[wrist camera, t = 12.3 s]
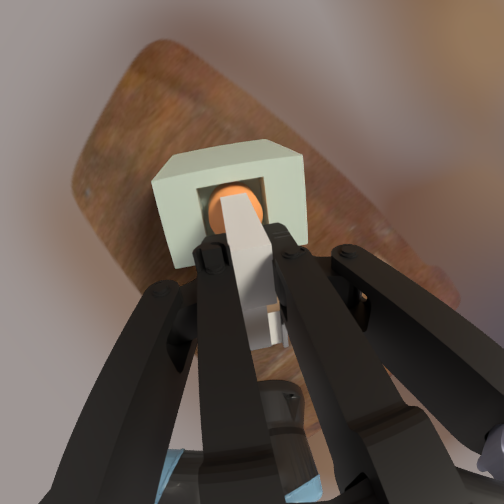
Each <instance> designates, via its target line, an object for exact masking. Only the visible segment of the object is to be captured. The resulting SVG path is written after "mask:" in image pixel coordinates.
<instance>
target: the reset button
mask: <svg viewBox="0 0 504 504" xmlns="http://www.w3.org/2000/svg"><path fill="white" fill-rule="evenodd" d="M241 193H247V195H248V197H249V199H250V201H251V203H252V206H253V208H254V210H255V212H256V214H257V216H258V218H259V220H260V222H261V223H262V219H263V211H262V207H261V205H260V203H259V201H258V200H257V198H256V196H255V195H254V193H253V191H252V190H251V189H250V188H249V187H248V186H247V185H245V184H244V183H241V182H237V181H234V182H228V183H223V184H220V185H219V186H217V187H216V188H215V189H214V190H213V191H212V193H211V195H210V197H209V202H208V213H209V223H210V226H211V229H212V230H213V232H214V233H215V234H221V233H226V230H225V224H224V218H223V212H222V206H221V200H220V197H224V196H230V195H235V194H241Z"/></svg>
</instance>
